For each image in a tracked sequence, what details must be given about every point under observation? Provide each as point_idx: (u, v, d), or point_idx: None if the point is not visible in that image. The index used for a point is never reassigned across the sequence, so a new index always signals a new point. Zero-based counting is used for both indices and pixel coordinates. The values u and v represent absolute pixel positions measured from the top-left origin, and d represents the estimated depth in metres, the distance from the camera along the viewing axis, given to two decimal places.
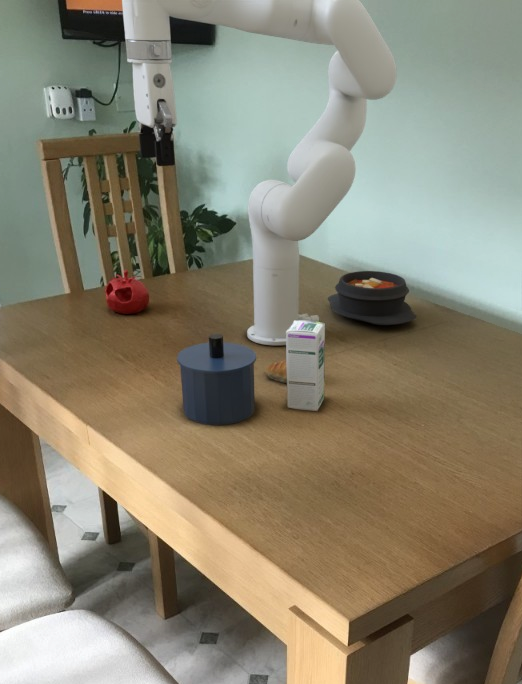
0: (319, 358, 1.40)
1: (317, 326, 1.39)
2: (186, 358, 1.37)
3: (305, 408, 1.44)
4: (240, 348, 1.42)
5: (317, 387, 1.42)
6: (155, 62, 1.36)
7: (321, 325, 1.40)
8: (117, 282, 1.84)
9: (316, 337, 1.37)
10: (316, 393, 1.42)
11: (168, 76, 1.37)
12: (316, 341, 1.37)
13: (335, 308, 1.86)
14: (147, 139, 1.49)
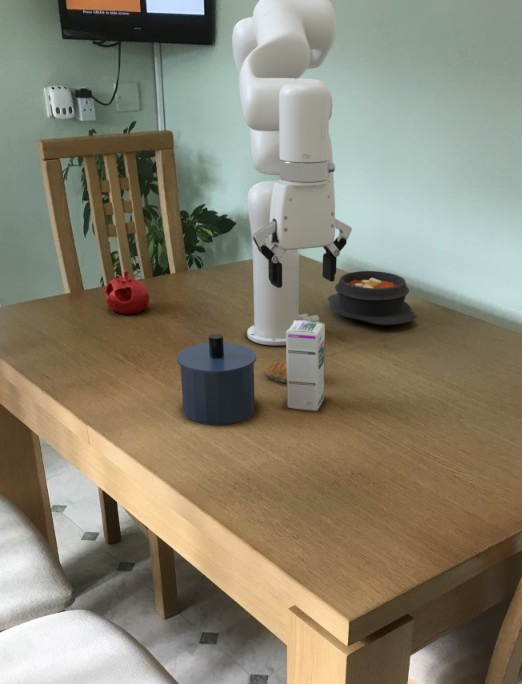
0: (319, 358, 1.40)
1: (317, 326, 1.39)
2: (186, 358, 1.37)
3: (305, 408, 1.44)
4: (240, 348, 1.42)
5: (317, 387, 1.42)
6: None
7: (321, 325, 1.40)
8: (117, 282, 1.84)
9: (316, 337, 1.37)
10: (316, 393, 1.42)
11: None
12: (316, 341, 1.37)
13: (335, 308, 1.86)
14: None
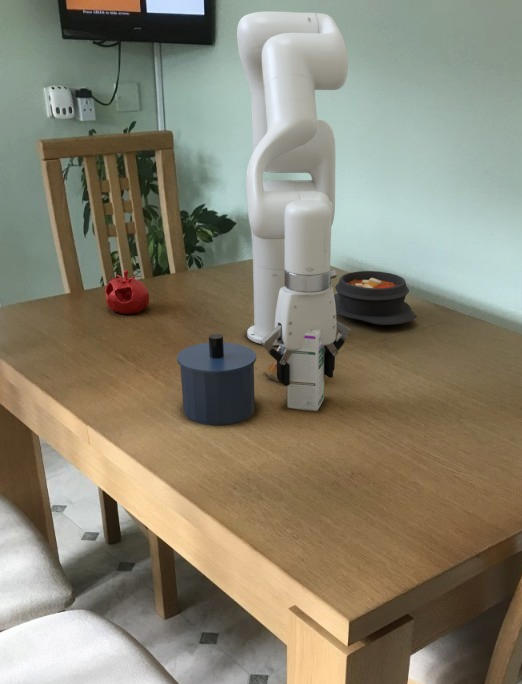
0: (319, 358, 1.40)
1: None
2: (186, 358, 1.37)
3: (305, 408, 1.44)
4: (240, 348, 1.42)
5: (317, 387, 1.42)
6: None
7: None
8: (117, 282, 1.84)
9: (316, 337, 1.37)
10: (316, 393, 1.42)
11: None
12: (316, 341, 1.37)
13: None
14: None
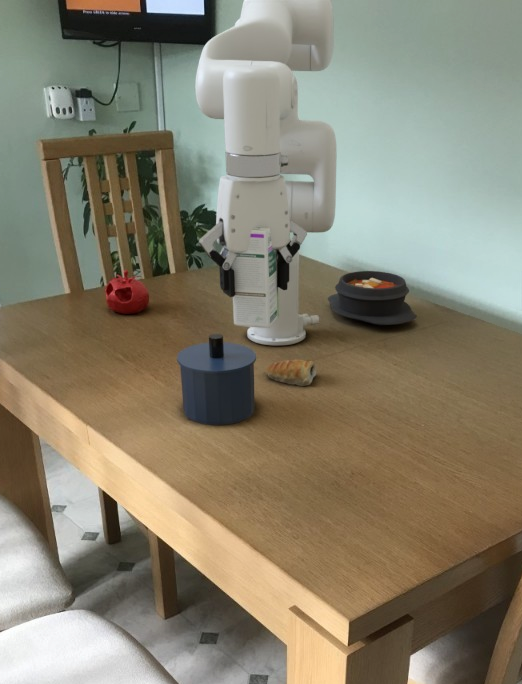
0: (269, 263, 1.18)
1: None
2: (186, 358, 1.37)
3: (255, 325, 1.23)
4: (240, 348, 1.42)
5: (268, 299, 1.20)
6: None
7: None
8: (117, 282, 1.84)
9: (265, 235, 1.15)
10: (267, 306, 1.21)
11: None
12: (265, 240, 1.16)
13: (335, 308, 1.86)
14: None
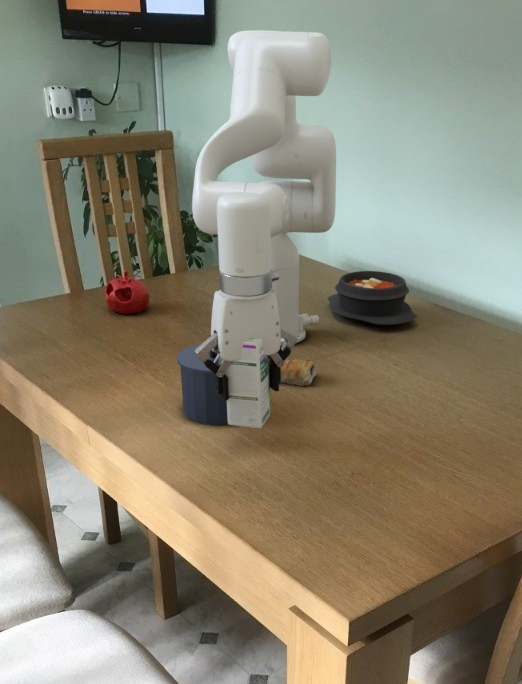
0: (261, 370, 1.25)
1: None
2: (186, 358, 1.37)
3: (248, 425, 1.29)
4: None
5: (260, 402, 1.27)
6: None
7: None
8: (117, 282, 1.84)
9: (257, 347, 1.22)
10: (259, 409, 1.27)
11: None
12: (257, 351, 1.22)
13: (335, 308, 1.86)
14: None
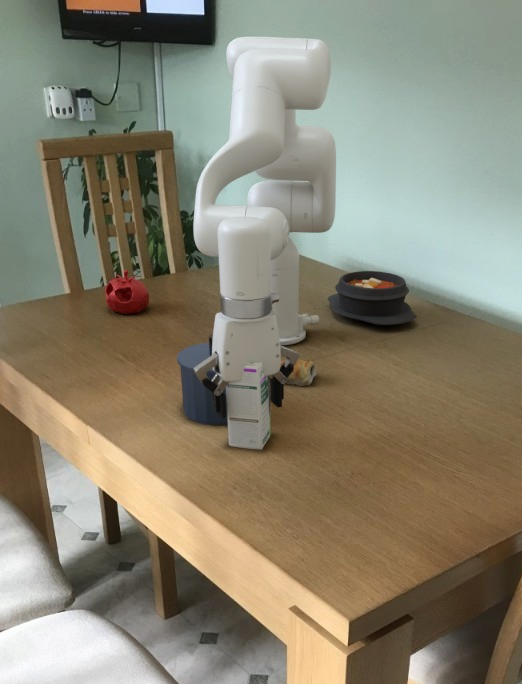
0: (262, 393, 1.27)
1: None
2: (186, 358, 1.37)
3: (248, 447, 1.31)
4: None
5: (260, 424, 1.29)
6: None
7: None
8: (117, 282, 1.84)
9: (257, 370, 1.24)
10: (259, 431, 1.29)
11: None
12: (257, 375, 1.24)
13: (335, 308, 1.86)
14: None
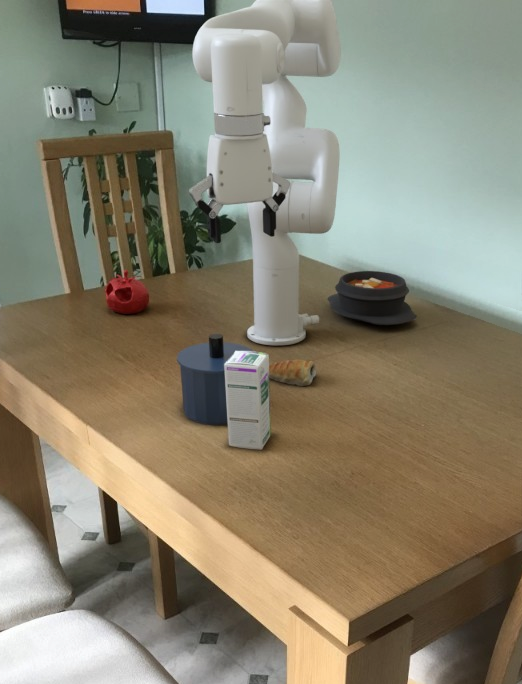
0: (262, 393, 1.27)
1: (259, 357, 1.26)
2: (186, 358, 1.37)
3: (248, 447, 1.31)
4: (240, 348, 1.42)
5: (260, 424, 1.29)
6: None
7: (264, 356, 1.27)
8: (117, 282, 1.84)
9: (257, 370, 1.24)
10: (260, 431, 1.29)
11: None
12: (257, 375, 1.24)
13: (335, 308, 1.86)
14: None
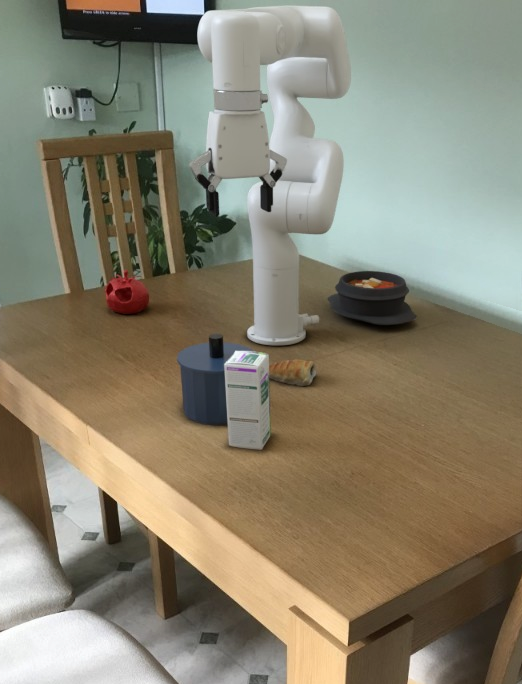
0: (262, 393, 1.27)
1: (259, 357, 1.26)
2: (186, 358, 1.37)
3: (248, 447, 1.31)
4: (240, 348, 1.42)
5: (260, 424, 1.29)
6: None
7: (264, 356, 1.27)
8: (117, 282, 1.84)
9: (257, 370, 1.24)
10: (260, 431, 1.29)
11: None
12: (257, 375, 1.24)
13: (335, 308, 1.86)
14: None
